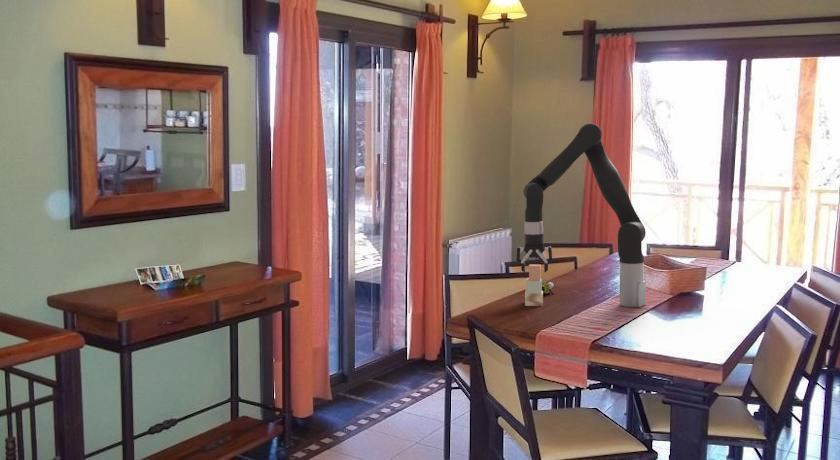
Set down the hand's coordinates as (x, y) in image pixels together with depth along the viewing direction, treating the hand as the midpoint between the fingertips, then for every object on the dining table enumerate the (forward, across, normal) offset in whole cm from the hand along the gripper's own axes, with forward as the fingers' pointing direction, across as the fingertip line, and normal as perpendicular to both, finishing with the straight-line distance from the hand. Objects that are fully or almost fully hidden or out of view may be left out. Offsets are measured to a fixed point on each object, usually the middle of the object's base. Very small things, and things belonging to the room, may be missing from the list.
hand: (534, 272), depth 317 cm
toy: (+13, -3, -18) cm, 23 cm away
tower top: (+8, 0, 0) cm, 8 cm away
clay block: (+3, 0, 0) cm, 3 cm away
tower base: (+13, 0, 0) cm, 13 cm away
